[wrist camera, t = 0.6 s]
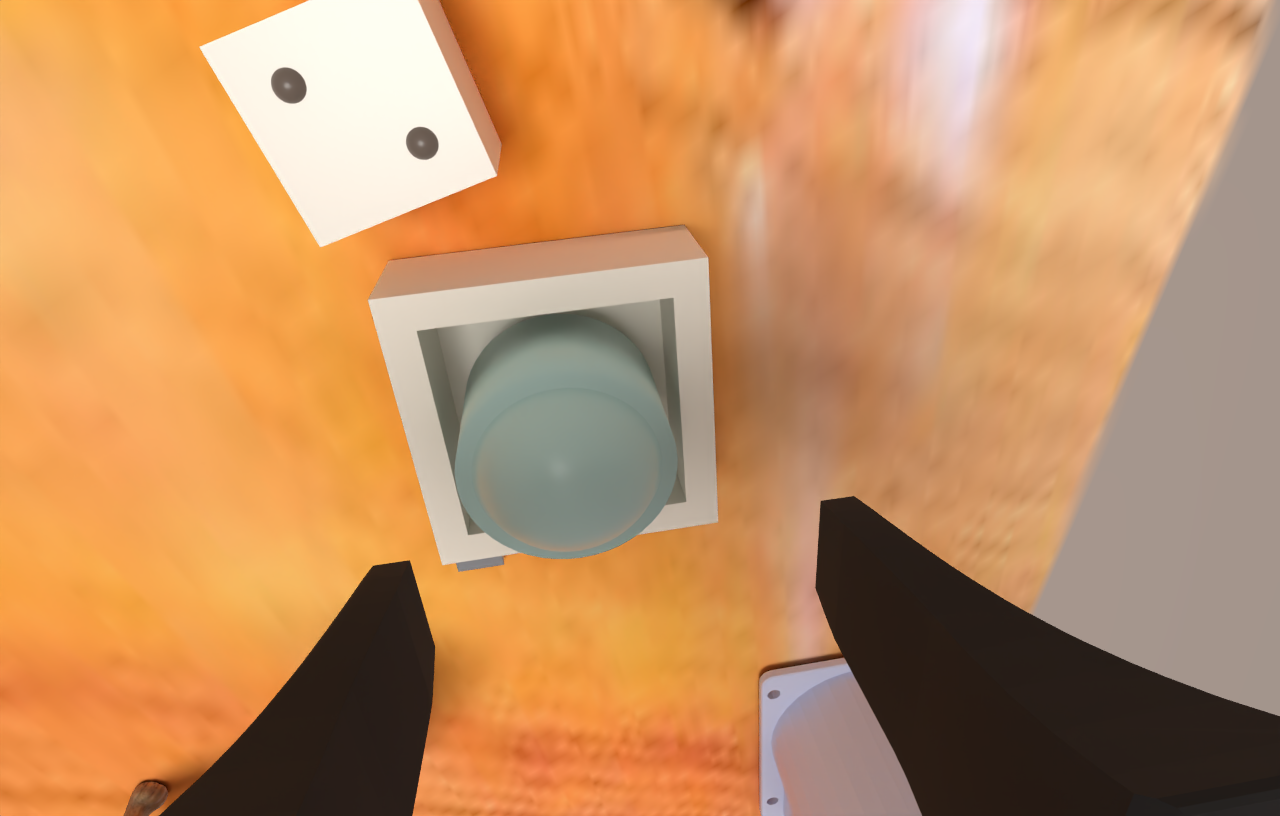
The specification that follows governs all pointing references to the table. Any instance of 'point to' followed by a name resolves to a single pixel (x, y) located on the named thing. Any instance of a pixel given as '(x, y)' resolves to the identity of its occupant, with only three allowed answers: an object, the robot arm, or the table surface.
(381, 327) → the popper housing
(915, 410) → the table surface
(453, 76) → the die
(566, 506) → the dome plunger
